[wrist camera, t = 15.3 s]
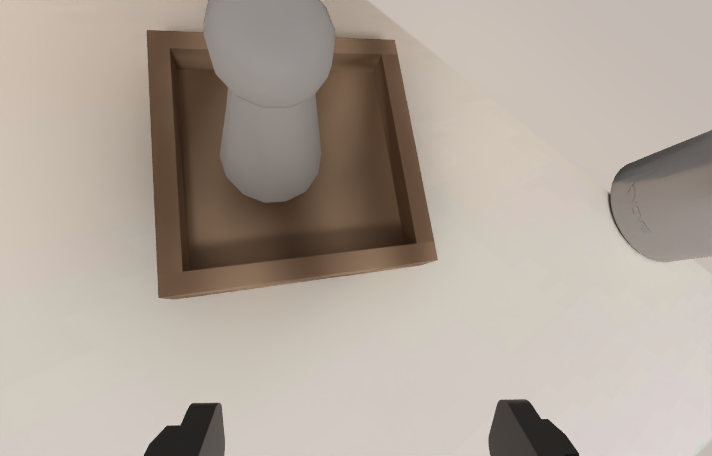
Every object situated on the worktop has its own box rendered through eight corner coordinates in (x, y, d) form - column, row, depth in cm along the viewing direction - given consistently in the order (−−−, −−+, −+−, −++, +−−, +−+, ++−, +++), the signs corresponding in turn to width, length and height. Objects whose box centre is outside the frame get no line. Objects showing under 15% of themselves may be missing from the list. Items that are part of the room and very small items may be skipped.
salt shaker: (327, 150, 24) (386, -11, 12) (298, 225, 23) (331, 126, 10) (246, 116, 24) (220, -95, 11) (209, 191, 22) (131, 41, 10)
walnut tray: (382, 67, 28) (394, 40, 25) (418, 265, 25) (437, 260, 22) (161, 63, 24) (146, 30, 21) (173, 299, 21) (158, 297, 18)
